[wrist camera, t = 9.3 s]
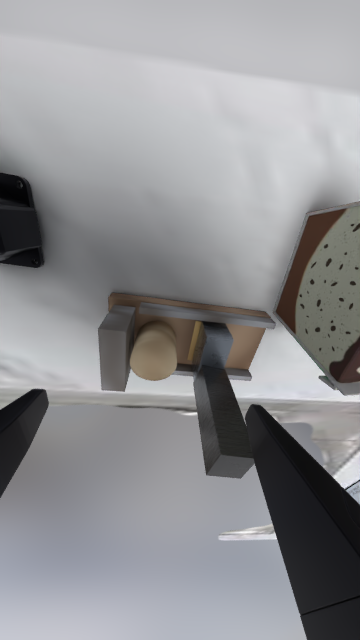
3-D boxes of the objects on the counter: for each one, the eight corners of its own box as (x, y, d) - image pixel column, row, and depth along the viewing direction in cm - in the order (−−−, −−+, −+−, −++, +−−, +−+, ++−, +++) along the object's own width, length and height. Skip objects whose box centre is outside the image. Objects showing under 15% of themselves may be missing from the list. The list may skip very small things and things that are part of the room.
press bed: (112, 355, 22) (96, 395, 17) (111, 292, 18) (90, 319, 13) (243, 367, 24) (262, 405, 19) (265, 311, 20) (296, 342, 15)
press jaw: (189, 364, 21) (205, 477, 12) (200, 320, 18) (230, 421, 9) (213, 366, 21) (245, 478, 12) (226, 322, 19) (281, 423, 10)
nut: (136, 351, 20) (129, 378, 17) (138, 318, 18) (130, 342, 15) (172, 354, 21) (173, 382, 17) (178, 323, 19) (180, 347, 15)
